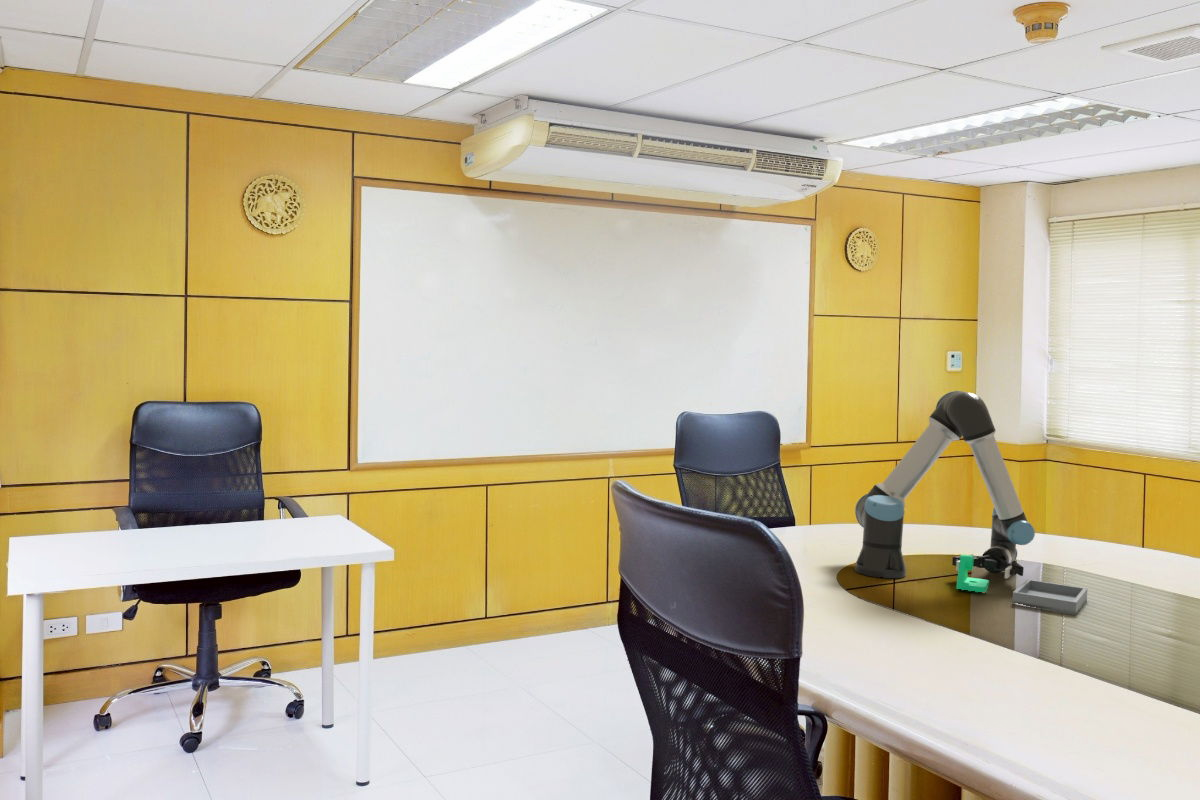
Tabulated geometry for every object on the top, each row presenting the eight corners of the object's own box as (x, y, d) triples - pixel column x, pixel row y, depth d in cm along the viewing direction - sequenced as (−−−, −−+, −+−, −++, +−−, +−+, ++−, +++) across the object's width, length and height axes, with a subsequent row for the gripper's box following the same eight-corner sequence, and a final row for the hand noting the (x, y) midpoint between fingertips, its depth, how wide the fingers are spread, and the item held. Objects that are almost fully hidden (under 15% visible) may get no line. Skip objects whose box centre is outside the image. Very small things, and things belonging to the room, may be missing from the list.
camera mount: (984, 596, 284) (986, 561, 284) (956, 592, 288) (958, 557, 287) (988, 588, 295) (991, 554, 294) (961, 584, 298) (963, 551, 298)
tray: (1012, 604, 275) (1012, 592, 275) (1027, 590, 293) (1027, 579, 293) (1075, 615, 266) (1076, 602, 266) (1086, 600, 285) (1087, 588, 285)
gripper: (1038, 577, 303) (1026, 590, 285) (954, 565, 316) (937, 575, 298) (1040, 553, 303) (1028, 564, 285) (955, 541, 316) (938, 551, 298)
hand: (981, 570), depth 292 cm, fingers open, 13 cm apart
